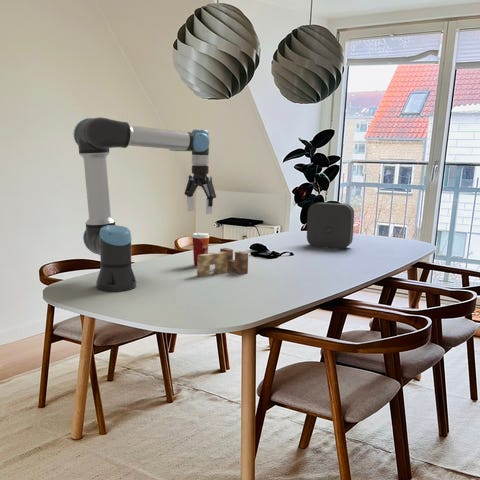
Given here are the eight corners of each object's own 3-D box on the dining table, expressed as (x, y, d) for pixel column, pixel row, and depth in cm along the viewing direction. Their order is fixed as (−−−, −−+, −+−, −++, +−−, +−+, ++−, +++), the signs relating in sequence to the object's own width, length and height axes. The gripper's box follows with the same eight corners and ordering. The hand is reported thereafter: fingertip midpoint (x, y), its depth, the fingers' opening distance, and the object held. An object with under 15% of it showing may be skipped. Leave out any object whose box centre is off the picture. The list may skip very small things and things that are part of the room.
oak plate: (201, 276, 229) (201, 256, 228) (197, 275, 231) (197, 254, 230) (227, 272, 238) (227, 252, 237) (222, 271, 240) (223, 251, 239)
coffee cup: (206, 267, 247) (207, 235, 244) (189, 266, 248) (189, 234, 246) (211, 264, 255) (211, 232, 252) (194, 263, 256) (194, 232, 254)
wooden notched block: (247, 273, 237) (248, 253, 236) (242, 274, 236) (242, 253, 234) (225, 266, 249) (225, 247, 248) (220, 267, 248) (220, 248, 246)
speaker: (352, 247, 306) (354, 204, 302) (349, 250, 298) (351, 205, 294) (309, 244, 315) (311, 201, 311) (305, 246, 308) (307, 202, 303)
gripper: (224, 165, 233) (223, 214, 236) (190, 164, 251) (189, 209, 255) (211, 165, 228) (210, 215, 231) (177, 164, 246) (176, 210, 250)
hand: (199, 212), depth 243 cm, fingers open, 13 cm apart
